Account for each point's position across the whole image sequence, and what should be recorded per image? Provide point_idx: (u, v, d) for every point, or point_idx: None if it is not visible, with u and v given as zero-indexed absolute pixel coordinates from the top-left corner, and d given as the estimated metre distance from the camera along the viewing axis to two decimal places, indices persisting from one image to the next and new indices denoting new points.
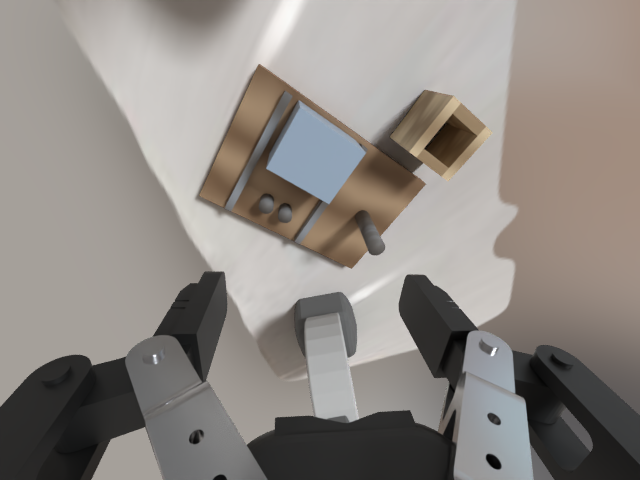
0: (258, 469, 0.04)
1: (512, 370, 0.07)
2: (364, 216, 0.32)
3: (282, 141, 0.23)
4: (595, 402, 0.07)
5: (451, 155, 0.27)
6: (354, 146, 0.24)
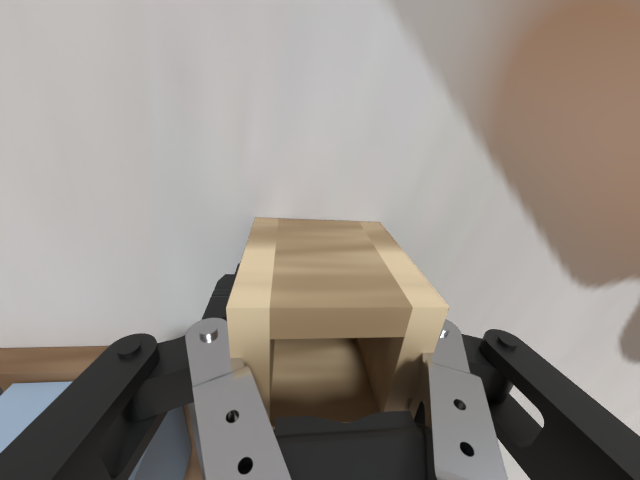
0: (282, 462, 0.05)
1: (457, 351, 0.08)
2: None
3: None
4: (540, 379, 0.07)
5: (377, 367, 0.09)
6: None
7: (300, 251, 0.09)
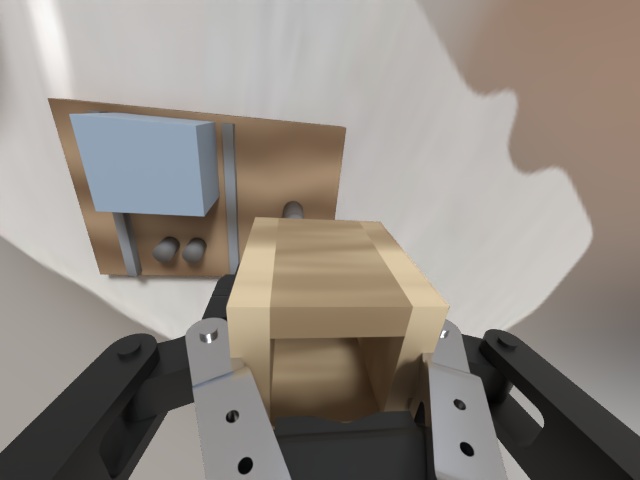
0: (282, 462, 0.05)
1: (457, 351, 0.08)
2: (287, 209, 0.23)
3: (85, 168, 0.17)
4: (540, 379, 0.07)
5: (377, 366, 0.09)
6: (174, 125, 0.17)
7: (301, 250, 0.09)
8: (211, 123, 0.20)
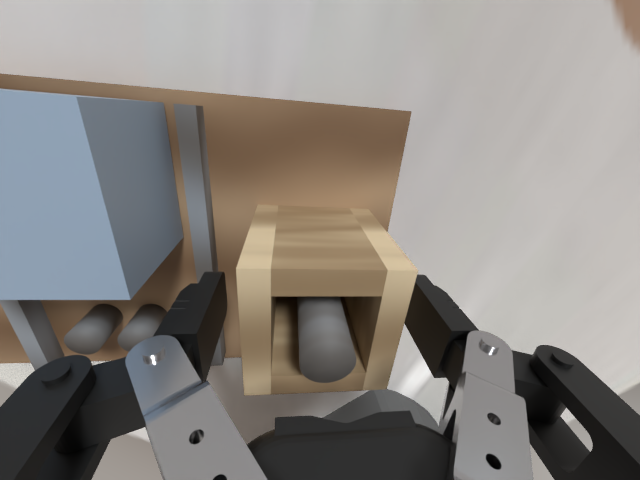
0: (258, 469, 0.04)
1: (512, 370, 0.07)
2: None
3: None
4: (595, 402, 0.07)
5: (363, 329, 0.11)
6: (19, 96, 0.06)
7: (297, 230, 0.11)
8: (151, 103, 0.10)
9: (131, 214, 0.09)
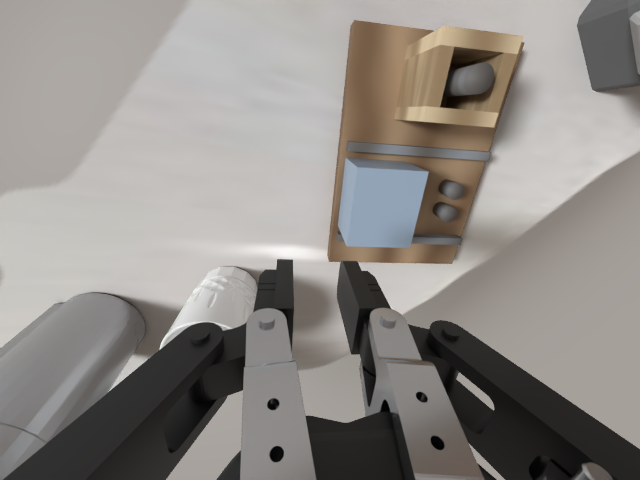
0: (311, 463, 0.05)
1: (399, 340, 0.08)
2: None
3: (380, 246, 0.25)
4: (485, 365, 0.07)
5: (478, 53, 0.19)
6: (356, 183, 0.22)
7: (412, 94, 0.21)
8: (348, 159, 0.25)
9: (393, 167, 0.23)
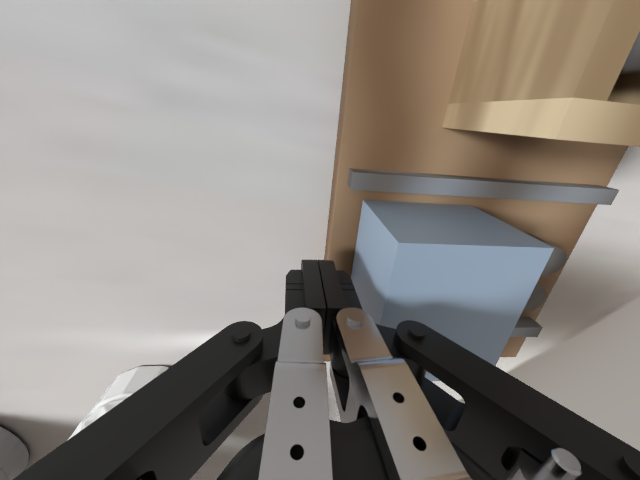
0: (330, 469, 0.05)
1: (362, 340, 0.08)
2: None
3: (432, 379, 0.12)
4: (453, 363, 0.07)
5: None
6: (394, 274, 0.10)
7: (502, 73, 0.09)
8: (369, 206, 0.13)
9: (470, 233, 0.11)
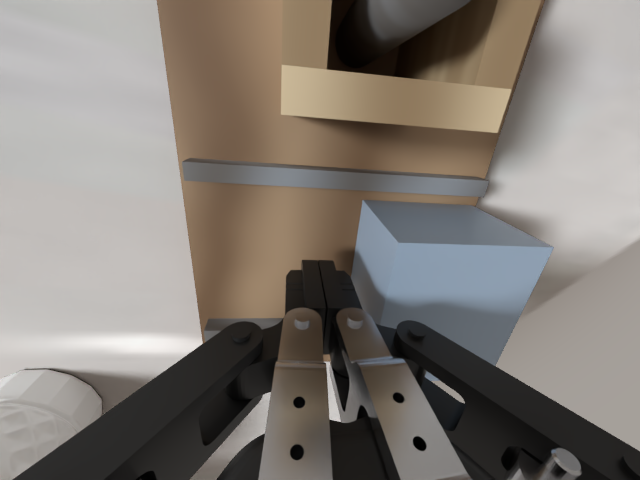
0: (330, 469, 0.05)
1: (362, 340, 0.08)
2: (346, 49, 0.10)
3: (432, 378, 0.13)
4: (453, 363, 0.07)
5: None
6: (394, 273, 0.10)
7: None
8: (369, 206, 0.13)
9: (470, 232, 0.11)
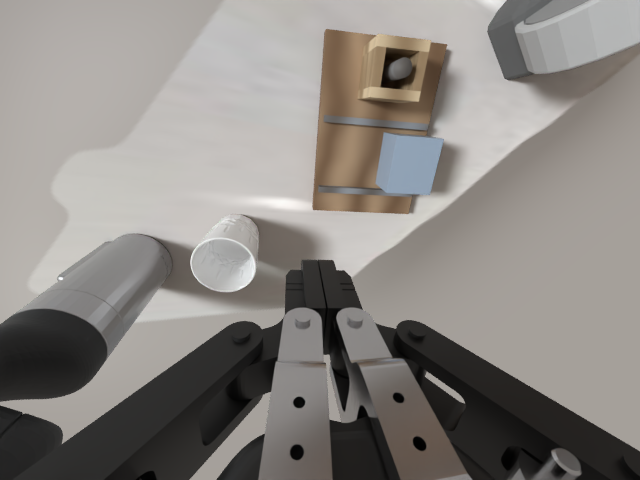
0: (330, 469, 0.05)
1: (362, 340, 0.08)
2: None
3: (409, 193, 0.36)
4: (453, 363, 0.07)
5: (405, 52, 0.29)
6: (395, 146, 0.33)
7: (365, 80, 0.31)
8: None
9: (419, 136, 0.34)
